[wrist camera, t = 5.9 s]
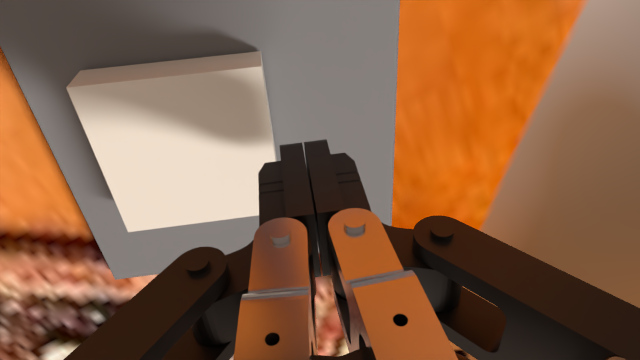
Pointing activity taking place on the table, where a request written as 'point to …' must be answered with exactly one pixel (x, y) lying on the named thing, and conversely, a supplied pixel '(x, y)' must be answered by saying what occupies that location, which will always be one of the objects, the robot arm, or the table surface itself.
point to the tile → (179, 137)
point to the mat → (204, 41)
